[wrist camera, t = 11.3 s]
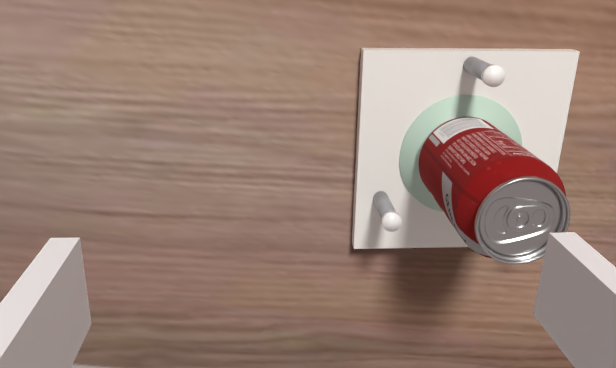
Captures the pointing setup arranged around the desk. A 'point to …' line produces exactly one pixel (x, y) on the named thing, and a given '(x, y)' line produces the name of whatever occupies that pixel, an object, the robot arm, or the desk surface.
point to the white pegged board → (436, 110)
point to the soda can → (493, 190)
